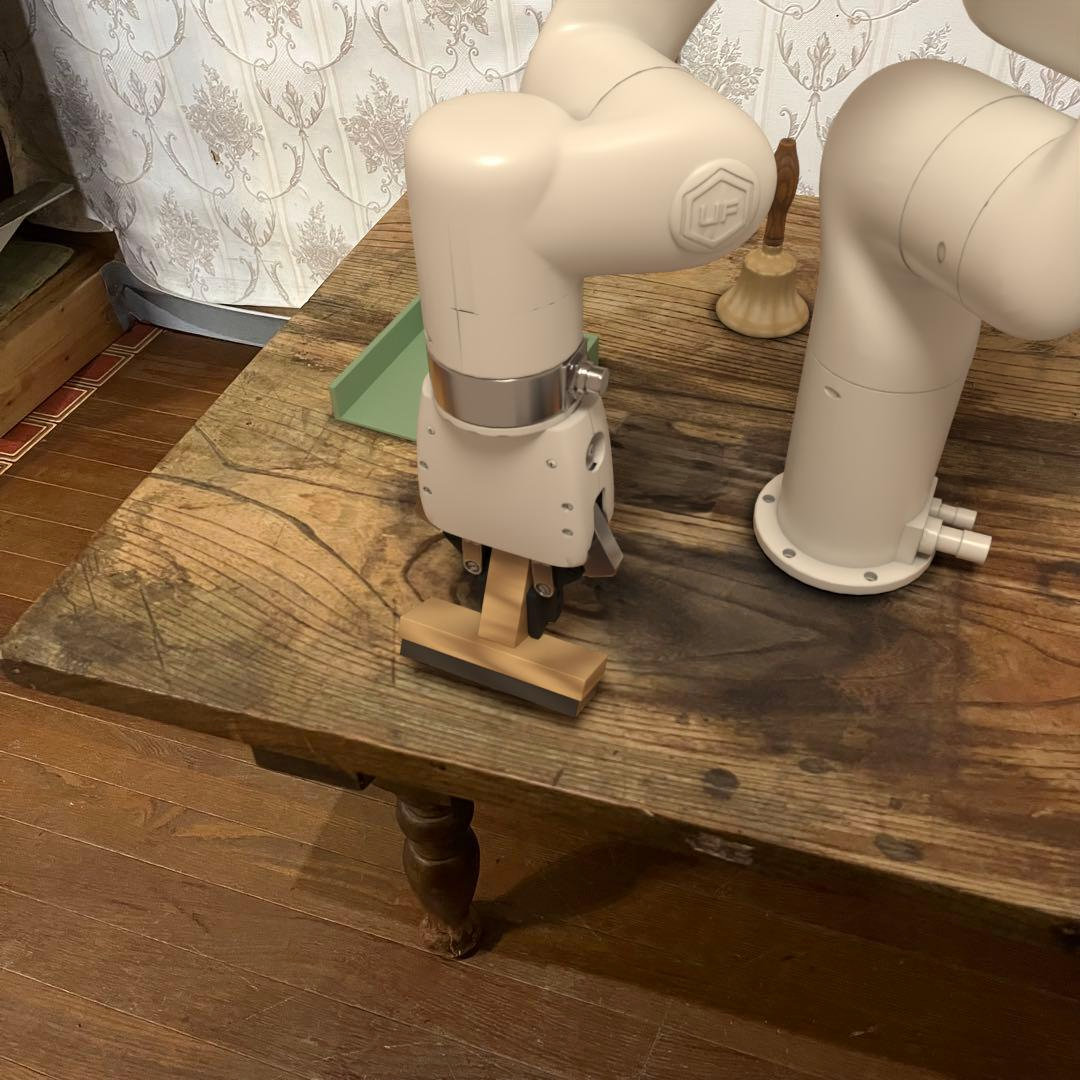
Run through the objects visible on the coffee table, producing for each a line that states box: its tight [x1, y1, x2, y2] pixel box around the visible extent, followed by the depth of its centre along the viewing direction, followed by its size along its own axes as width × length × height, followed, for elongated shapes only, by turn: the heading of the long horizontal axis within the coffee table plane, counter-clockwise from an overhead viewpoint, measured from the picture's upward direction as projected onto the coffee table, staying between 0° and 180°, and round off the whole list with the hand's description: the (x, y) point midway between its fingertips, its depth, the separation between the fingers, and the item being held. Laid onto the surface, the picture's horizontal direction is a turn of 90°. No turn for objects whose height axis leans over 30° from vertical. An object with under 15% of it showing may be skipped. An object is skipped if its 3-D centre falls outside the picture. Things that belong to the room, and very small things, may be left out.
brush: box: [397, 547, 609, 718], centre depth 61 cm, size 12×4×9 cm, turn 66°
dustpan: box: [327, 293, 600, 443], centre depth 87 cm, size 22×17×3 cm
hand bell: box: [715, 137, 810, 339], centre depth 88 cm, size 8×8×16 cm
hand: (520, 612), depth 63 cm, fingers closed on brush, 2 cm apart
